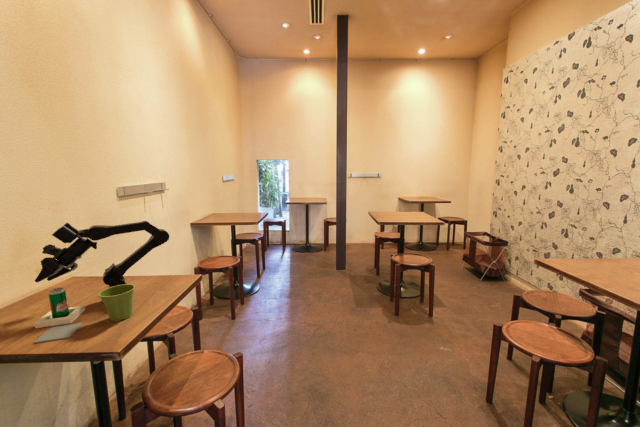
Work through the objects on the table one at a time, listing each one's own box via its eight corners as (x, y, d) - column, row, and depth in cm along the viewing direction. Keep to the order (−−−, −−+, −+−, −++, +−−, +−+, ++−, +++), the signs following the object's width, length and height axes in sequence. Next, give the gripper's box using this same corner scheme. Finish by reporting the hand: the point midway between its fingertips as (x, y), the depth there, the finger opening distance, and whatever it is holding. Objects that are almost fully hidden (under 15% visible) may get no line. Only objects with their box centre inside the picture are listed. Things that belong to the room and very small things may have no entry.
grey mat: (83, 323, 112) (83, 322, 112) (69, 337, 103) (69, 336, 102) (51, 328, 109) (51, 327, 109) (34, 343, 100) (34, 342, 100)
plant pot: (107, 313, 120) (103, 287, 118) (141, 308, 124) (138, 282, 122) (97, 327, 109) (93, 298, 107) (134, 321, 113) (131, 293, 111)
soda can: (59, 322, 114) (54, 292, 112) (49, 321, 115) (44, 291, 113) (73, 316, 119) (68, 287, 117) (63, 315, 120) (58, 286, 118)
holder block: (84, 310, 124) (84, 305, 123) (71, 323, 113) (70, 318, 113) (52, 314, 120) (51, 309, 120) (35, 328, 110) (34, 323, 110)
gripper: (68, 239, 131) (36, 267, 126) (47, 236, 114) (9, 268, 108) (90, 255, 133) (59, 284, 127) (73, 254, 115) (36, 287, 110)
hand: (42, 281), depth 118 cm, fingers open, 9 cm apart
